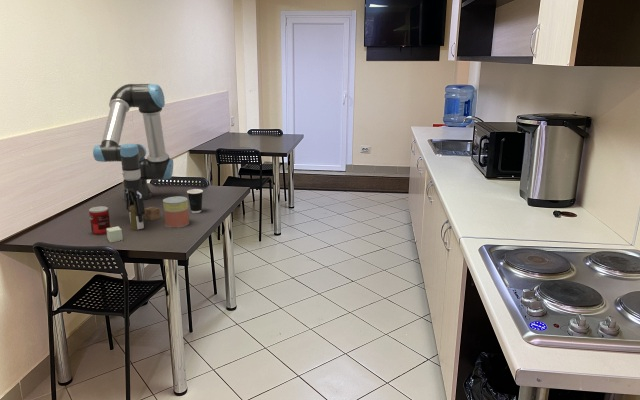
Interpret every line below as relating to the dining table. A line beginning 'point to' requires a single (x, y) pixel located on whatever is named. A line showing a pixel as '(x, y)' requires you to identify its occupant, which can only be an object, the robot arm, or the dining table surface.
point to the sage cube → (114, 234)
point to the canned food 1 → (99, 219)
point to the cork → (133, 218)
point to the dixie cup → (195, 200)
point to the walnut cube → (152, 213)
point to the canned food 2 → (176, 211)
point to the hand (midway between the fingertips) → (137, 226)
